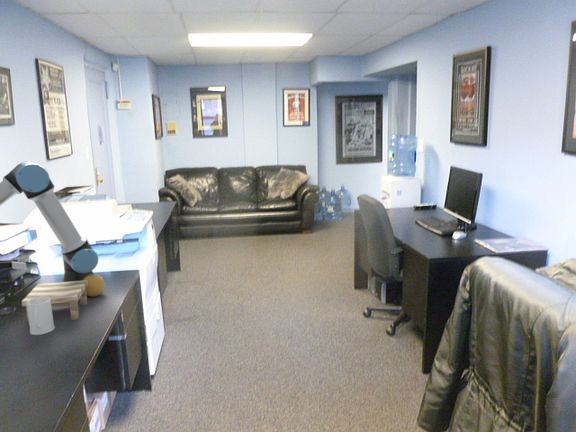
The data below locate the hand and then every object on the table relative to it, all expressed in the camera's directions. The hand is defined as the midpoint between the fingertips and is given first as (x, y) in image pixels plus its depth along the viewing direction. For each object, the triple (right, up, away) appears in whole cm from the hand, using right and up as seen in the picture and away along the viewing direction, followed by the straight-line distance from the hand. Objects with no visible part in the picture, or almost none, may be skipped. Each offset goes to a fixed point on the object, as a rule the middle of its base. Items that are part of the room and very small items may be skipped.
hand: (10, 271), depth 174 cm
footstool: (+9, -19, +19) cm, 29 cm away
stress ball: (+16, -16, +38) cm, 44 cm away
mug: (+11, -23, +2) cm, 26 cm away
